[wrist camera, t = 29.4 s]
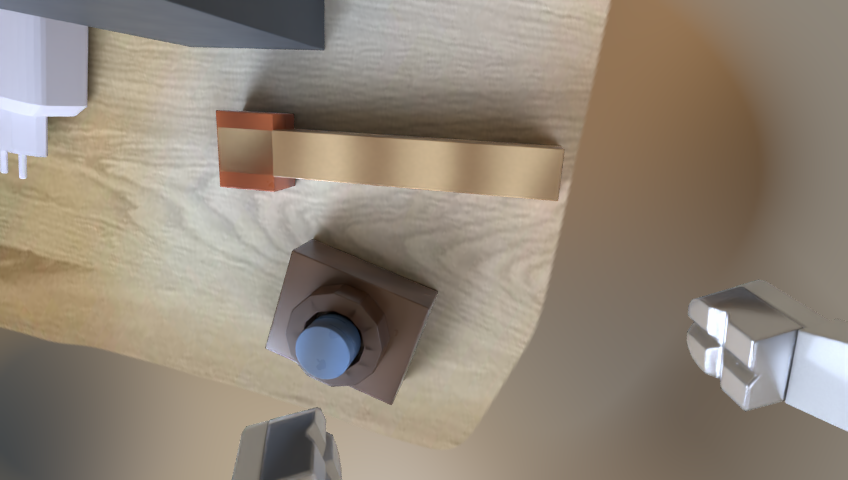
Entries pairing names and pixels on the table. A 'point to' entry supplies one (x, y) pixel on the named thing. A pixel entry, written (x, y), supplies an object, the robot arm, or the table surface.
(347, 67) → the table surface
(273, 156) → the stick
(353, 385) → the button base
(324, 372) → the plunger
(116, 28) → the stand
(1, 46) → the charger
